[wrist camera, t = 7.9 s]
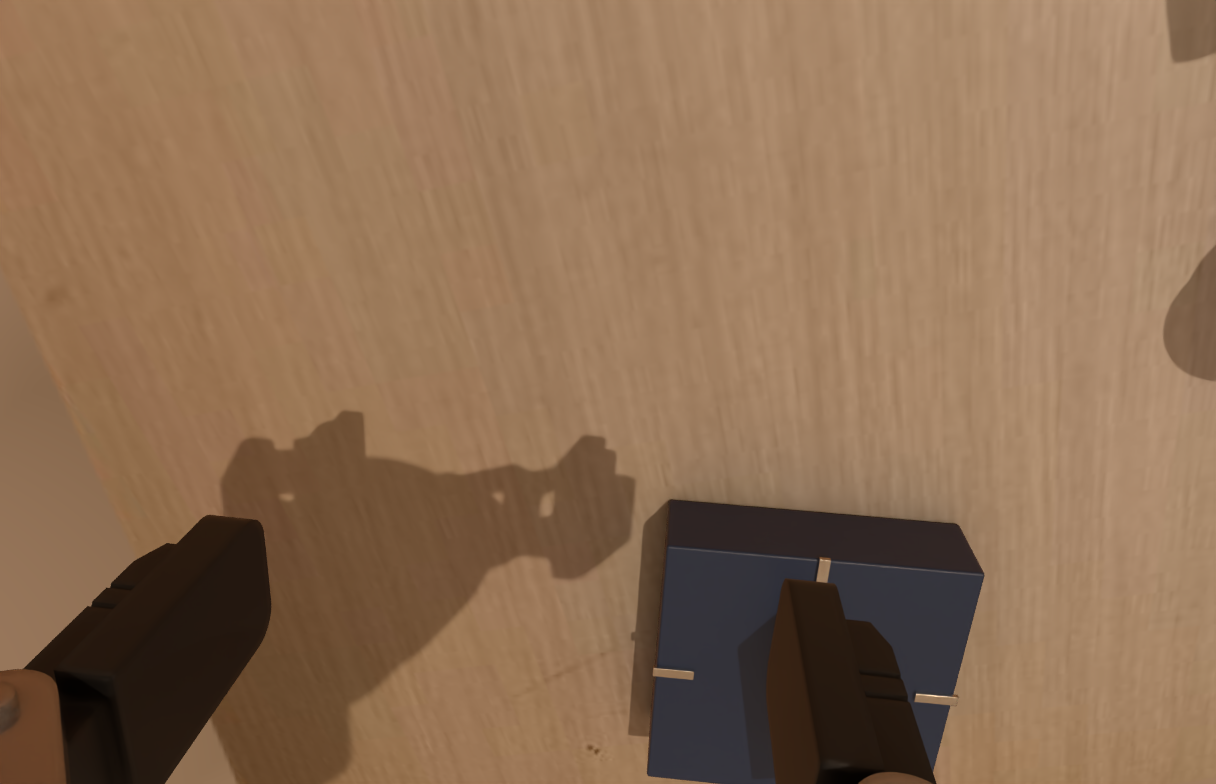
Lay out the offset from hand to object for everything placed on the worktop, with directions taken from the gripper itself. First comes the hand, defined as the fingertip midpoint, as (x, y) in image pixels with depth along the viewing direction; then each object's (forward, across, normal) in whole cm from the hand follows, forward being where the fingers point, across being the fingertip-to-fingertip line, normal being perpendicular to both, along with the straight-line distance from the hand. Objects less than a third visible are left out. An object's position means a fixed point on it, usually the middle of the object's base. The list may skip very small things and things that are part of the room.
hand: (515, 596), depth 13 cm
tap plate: (+16, -8, +12) cm, 21 cm away
